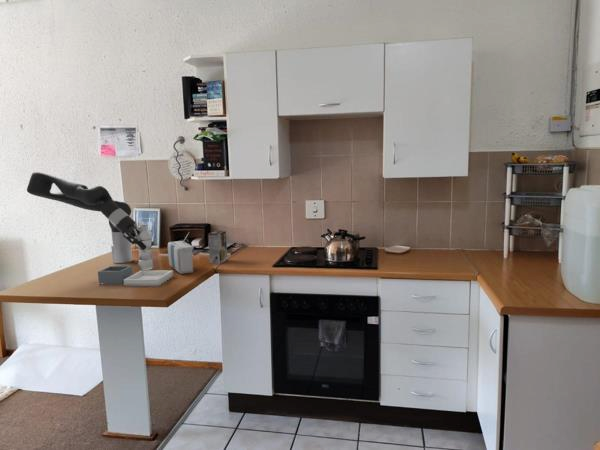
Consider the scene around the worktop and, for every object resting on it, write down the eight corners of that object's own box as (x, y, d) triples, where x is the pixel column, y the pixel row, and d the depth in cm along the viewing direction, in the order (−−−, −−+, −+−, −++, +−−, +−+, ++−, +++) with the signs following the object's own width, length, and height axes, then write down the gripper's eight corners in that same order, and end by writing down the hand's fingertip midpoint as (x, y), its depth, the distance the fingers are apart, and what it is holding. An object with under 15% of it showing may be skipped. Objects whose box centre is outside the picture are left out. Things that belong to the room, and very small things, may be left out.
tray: (124, 286, 189) (123, 279, 188) (141, 276, 204) (140, 270, 204) (159, 286, 187) (158, 279, 187) (173, 276, 203) (173, 270, 202)
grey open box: (99, 284, 193) (97, 271, 192) (110, 278, 203) (109, 266, 202) (122, 284, 192) (121, 271, 191) (133, 278, 202) (132, 265, 201)
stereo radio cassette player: (168, 267, 223) (165, 229, 220) (184, 264, 227) (181, 227, 224) (178, 275, 205) (175, 234, 202) (195, 272, 209) (192, 232, 206)
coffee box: (217, 259, 236) (215, 230, 234) (227, 260, 234) (226, 230, 232) (209, 263, 227) (207, 233, 225) (220, 263, 226) (218, 233, 223)
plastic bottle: (139, 272, 190) (136, 227, 187) (138, 268, 196) (135, 225, 193) (154, 270, 192) (151, 226, 189) (153, 267, 198) (150, 224, 196)
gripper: (124, 224, 200) (150, 249, 200) (107, 229, 186) (135, 256, 186) (135, 213, 199) (160, 238, 199) (118, 217, 184) (146, 244, 185)
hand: (148, 247), depth 192 cm, fingers closed on plastic bottle, 6 cm apart
